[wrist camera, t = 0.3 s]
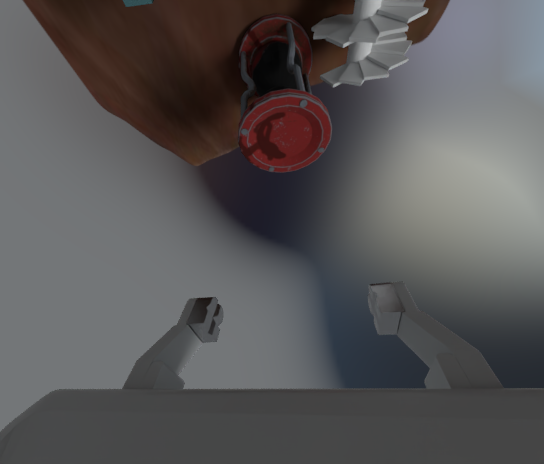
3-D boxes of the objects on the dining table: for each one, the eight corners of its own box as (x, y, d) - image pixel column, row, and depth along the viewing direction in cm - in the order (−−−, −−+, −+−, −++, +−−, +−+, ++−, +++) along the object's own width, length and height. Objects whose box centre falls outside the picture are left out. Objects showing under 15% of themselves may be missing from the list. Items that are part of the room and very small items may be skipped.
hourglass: (248, -3, 40) (251, 80, 29) (325, 31, 45) (353, 112, 34) (232, 85, 54) (230, 165, 43) (293, 104, 59) (305, 179, 48)
